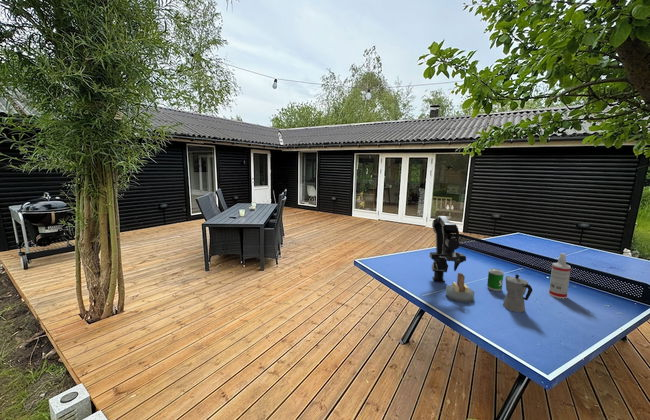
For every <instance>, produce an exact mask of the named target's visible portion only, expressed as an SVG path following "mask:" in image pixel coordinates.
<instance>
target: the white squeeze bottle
mask: <svg viewBox="0 0 650 420" xmlns="http://www.w3.org/2000/svg"><path fill="white" fill-rule="evenodd" d="M566 255H567V254H566V253H563V252H562V253H561V252H560V254H559V257H558V259H557V262H552V266H551V274H550V281H549V289H548V295H549V296H550V297H553V298H557V299H561V298H562V300H565V299H564V298H566V299H567V298H568V291H569V290H568V289H569V284H570V277H571V269H572V268H571V265H569V264H567V259H566V258H567V257H566Z"/></svg>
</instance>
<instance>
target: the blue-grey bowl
mask: <svg viewBox="0 0 650 420" xmlns="http://www.w3.org/2000/svg"><path fill="white" fill-rule="evenodd" d="M446 295H447V296H446ZM445 296H446V297H447V298H448V297H449V299H450V300H452V301H454V302H459V303H472V302H474V300H475V291H474V290H473V289H472V288H470V287H469V286H468V285H467V284H466V283H465V282H464V291H463V292H459V286H458V285H457V281H452V284H449V285H447V286H446V289H445Z"/></svg>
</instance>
